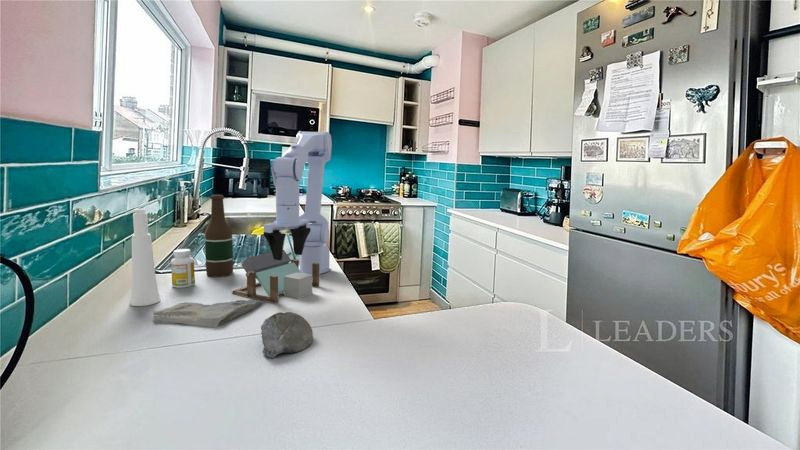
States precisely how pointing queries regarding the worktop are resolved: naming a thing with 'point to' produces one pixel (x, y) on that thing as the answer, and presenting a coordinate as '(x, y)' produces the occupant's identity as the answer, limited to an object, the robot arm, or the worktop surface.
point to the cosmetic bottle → (142, 263)
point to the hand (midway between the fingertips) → (288, 256)
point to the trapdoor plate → (270, 269)
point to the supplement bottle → (182, 269)
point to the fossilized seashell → (285, 334)
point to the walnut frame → (271, 284)
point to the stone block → (297, 285)
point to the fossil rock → (204, 312)
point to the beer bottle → (218, 241)
